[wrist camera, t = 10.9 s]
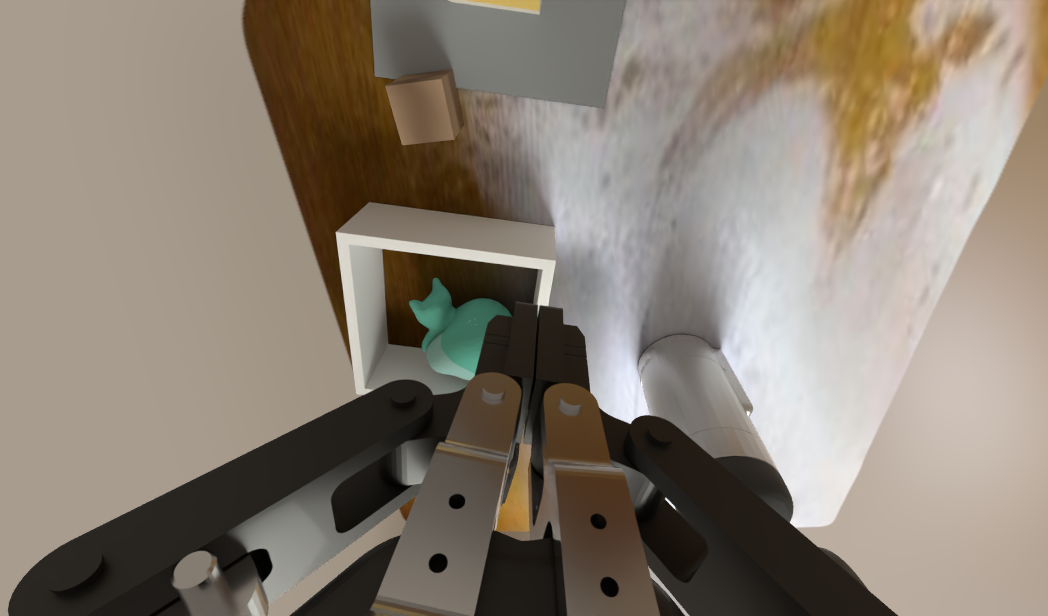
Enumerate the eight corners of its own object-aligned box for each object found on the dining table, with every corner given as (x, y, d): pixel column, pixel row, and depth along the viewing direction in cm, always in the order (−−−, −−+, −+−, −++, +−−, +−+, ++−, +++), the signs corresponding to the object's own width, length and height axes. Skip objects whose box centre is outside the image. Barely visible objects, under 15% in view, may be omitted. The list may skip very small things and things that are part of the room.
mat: (643, -91, 30) (644, -92, 30) (603, 107, 37) (603, 108, 37) (364, -132, 30) (362, -134, 30) (376, 76, 37) (374, 76, 36)
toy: (373, 327, 44) (464, 425, 48) (423, 301, 37) (523, 417, 41) (430, 274, 50) (505, 364, 55) (481, 244, 44) (562, 349, 48)
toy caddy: (554, 226, 43) (556, 260, 37) (531, 368, 53) (528, 415, 47) (369, 202, 43) (335, 232, 36) (380, 349, 53) (356, 394, 46)
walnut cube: (452, 69, 36) (441, 78, 32) (463, 124, 38) (454, 139, 35) (401, 75, 36) (385, 86, 33) (416, 130, 39) (402, 145, 35)
